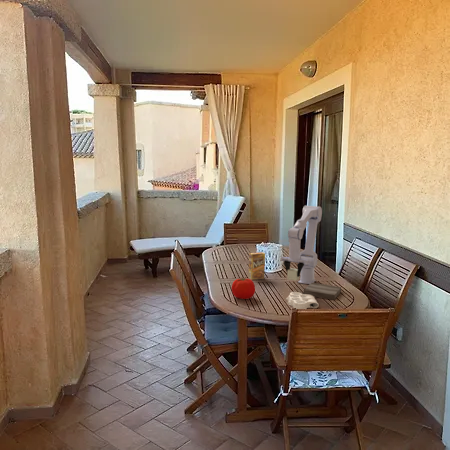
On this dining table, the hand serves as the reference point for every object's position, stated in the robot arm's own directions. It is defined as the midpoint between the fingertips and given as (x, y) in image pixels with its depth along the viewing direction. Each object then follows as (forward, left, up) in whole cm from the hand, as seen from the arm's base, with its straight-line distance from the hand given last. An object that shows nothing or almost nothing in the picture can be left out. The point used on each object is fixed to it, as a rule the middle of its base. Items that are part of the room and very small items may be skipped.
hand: (293, 275), depth 217 cm
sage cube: (0, 0, -2) cm, 2 cm away
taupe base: (-4, +15, -8) cm, 18 cm away
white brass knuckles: (+18, +10, -9) cm, 22 cm away
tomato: (+25, -18, -9) cm, 32 cm away
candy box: (-12, -26, -9) cm, 30 cm away
